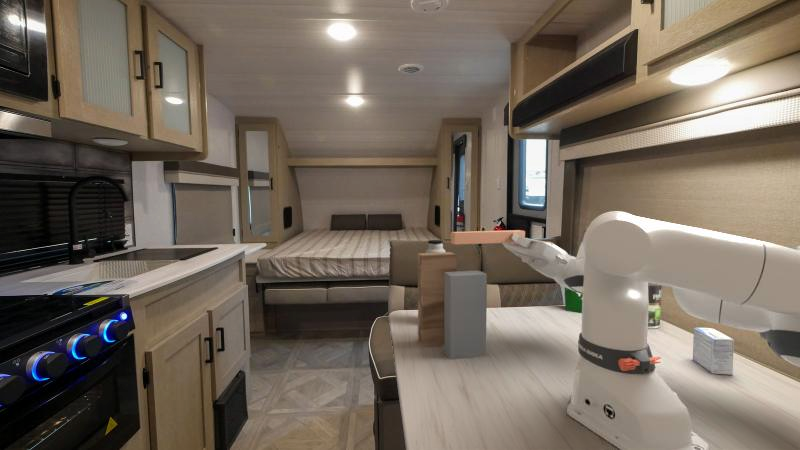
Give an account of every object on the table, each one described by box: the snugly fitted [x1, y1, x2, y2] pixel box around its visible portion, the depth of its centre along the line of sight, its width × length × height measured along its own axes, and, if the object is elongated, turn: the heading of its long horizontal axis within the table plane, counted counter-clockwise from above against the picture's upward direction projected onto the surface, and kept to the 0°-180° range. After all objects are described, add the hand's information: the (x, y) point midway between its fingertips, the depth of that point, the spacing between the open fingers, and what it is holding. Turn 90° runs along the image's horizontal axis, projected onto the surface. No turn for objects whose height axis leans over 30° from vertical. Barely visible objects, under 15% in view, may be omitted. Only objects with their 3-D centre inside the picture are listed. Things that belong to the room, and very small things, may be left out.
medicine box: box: [692, 327, 735, 376], centre depth 89 cm, size 8×4×9 cm, turn 168°
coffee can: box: [648, 283, 663, 330], centre depth 120 cm, size 10×10×14 cm
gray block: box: [443, 270, 488, 360], centre depth 97 cm, size 5×10×22 cm, turn 102°
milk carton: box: [564, 287, 583, 314], centre depth 135 cm, size 9×9×20 cm
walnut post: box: [417, 251, 458, 348], centre depth 105 cm, size 5×10×26 cm, turn 102°
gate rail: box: [450, 229, 526, 245], centre depth 98 cm, size 3×20×3 cm, turn 102°
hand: (507, 234), depth 99 cm, fingers closed on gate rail, 3 cm apart
